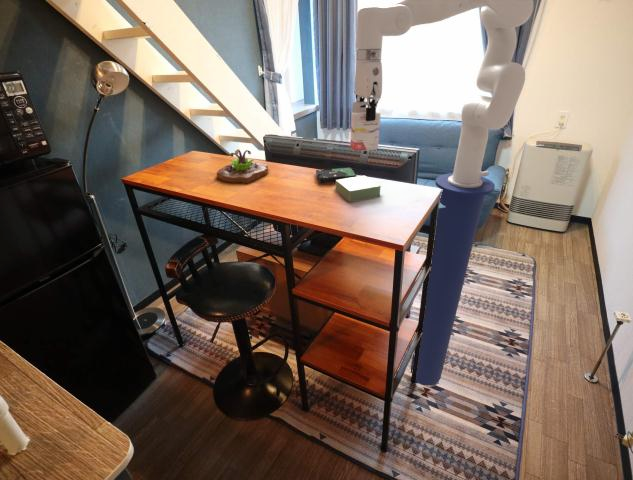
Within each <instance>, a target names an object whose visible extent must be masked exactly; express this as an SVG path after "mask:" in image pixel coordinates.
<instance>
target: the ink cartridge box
mask: <svg viewBox="0 0 633 480" xmlns="http://www.w3.org/2000/svg"><path fill="white" fill-rule="evenodd" d="M370 103H371V101H370ZM363 105H366V107H363V108H361V107H360V106H363ZM366 108H368V106H367V101H365V102H356V101H353V103H352V109H351V119H350V144H349V145H350V148H351V150H352V151H353V152H359V151H375V150H379V141H380V140H379V139H380V129H381V128H380V127H381V112H379V111H377V110H376V117H375V120H374V121H366Z"/></svg>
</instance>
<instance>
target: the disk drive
mask: <svg viewBox="0 0 633 480" xmlns="http://www.w3.org/2000/svg"><path fill="white" fill-rule="evenodd" d="M315 175H316V178H317V181H318V183H319V184H321V185H324V184H326V185H327V184H336V180H339V179H345V178H351V177H357V174H356V173H355V171H354V169H352V167H338V168H337V167H336V168H324V169H323V168H322V169H315Z"/></svg>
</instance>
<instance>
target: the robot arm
mask: <svg viewBox="0 0 633 480" xmlns="http://www.w3.org/2000/svg"><path fill="white" fill-rule="evenodd" d="M478 8H481V9H480V13H479V15H480V22H481V24H482V26H483V28H484V29H485V31H486V35H487V45H486V49H485V53H484V55H483V58H482V62H481V65H480V69H479V71H478V74H477V77H476V87H477V89H478V90H480V91H482V92H485V93H490V94H492V96H486V95H474V96H471V97H470V98H468V99H467V100H466V101H465V102H464V104H463V106H462V109H461V116H460V117H461V120H460V121H461V123H460V125H461V128H460V135H459V140H458V147H457V151H456V158H455V162H454V167H453V172H452V173H453V175H452V176H450V177H449V178H448V182H449V183H450V184H451V185H454V186H457V187H461V188H477V187H480V186H481V185H482V180H481V177H487V176H489V175H490V172H489V170H484V171H482V167H483V163H484V159H485V154H486V149H487V144H488V141H489V130H492V131H497V130H501V129H502V128H504V127H505V126H507V124H508V122H509V121H510V119H511V118H512V117H513V116H512V115H513V113H514V110H515V108H516V106H517V104H518V101H519V98H520V96H521V93H522V90H523V88H524V85H525V81H526V71H525V68H524V67H523V65H522V64H520V63H518V62H513V61H512V60H513V57H514V53H515V51H516V47H517V43H518V37H517V31H516V28H517V27H520V26H522V25H524V24H525V23H526V22H528V20H530V18H531V16H532V14H533V11H534V0H401V1H397V2H396V3H393V4H390V5H387V6H379V5H378V6H377V5H369V6H367V5H366V6H361V7H360V8H358V10H357V16H356V43H355V46H356V47H355V63H356V65H355V72H354V73H355V74H354V91H353V92H354V95H355V100H356V101H355V102H367V105H363V106H360V107H361V108H363V107H368V108H366V121H374V120H375V117H376V111H377V107H378V104H379V101H380V100H381V98H382V93H383V64H382V53H383V52H382V49H383V37H398V36H399V37H400V36H403V35H405V34H406V33H408V32H409V31H410V29H411V28H412V27H415V26H421V25H428V24H435V23H437V22H438V23H439V22H441V21H444V20H447V19H449V18H452V17H454V16H455V17H456V16H457V15H460V14H463V13H466V12H469V11H470V10H474V9H478ZM370 102H371V103H370Z"/></svg>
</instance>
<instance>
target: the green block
mask: <svg viewBox="0 0 633 480" xmlns="http://www.w3.org/2000/svg"><path fill="white" fill-rule="evenodd" d="M381 187H382V186H381V185H380V184H378V183H377V182H375V181H374V180H372V179H371V178H369V177H368V176H366V175H358V176H356V177H351V178H345V179H339V180H336V183H335V191H336V192H337V193H338V194H339V195H341V196H342V197H343V198H344V199H345V200H347V201H348V202H349V203H352V202H358V201H362V200H368V199H374V198H379V197H380V196H381Z"/></svg>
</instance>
